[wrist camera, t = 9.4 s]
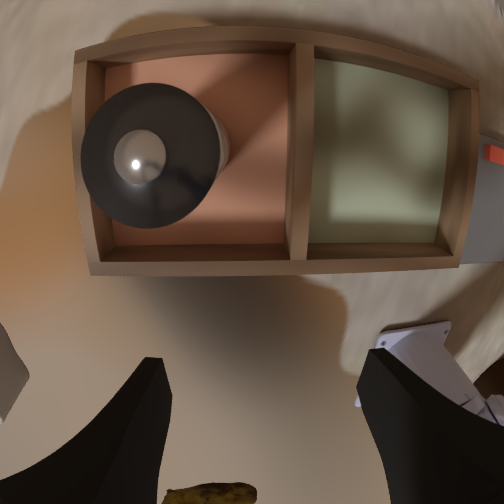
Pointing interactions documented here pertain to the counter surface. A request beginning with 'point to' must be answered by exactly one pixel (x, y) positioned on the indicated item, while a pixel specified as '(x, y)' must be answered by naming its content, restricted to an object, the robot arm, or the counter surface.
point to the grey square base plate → (487, 206)
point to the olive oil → (491, 381)
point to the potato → (213, 494)
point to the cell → (152, 155)
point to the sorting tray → (295, 154)
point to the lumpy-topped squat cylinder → (10, 374)
